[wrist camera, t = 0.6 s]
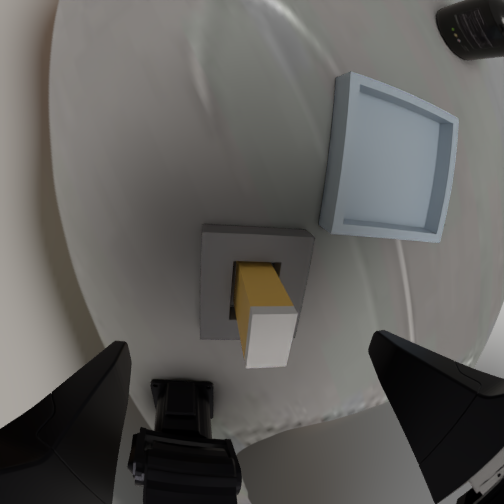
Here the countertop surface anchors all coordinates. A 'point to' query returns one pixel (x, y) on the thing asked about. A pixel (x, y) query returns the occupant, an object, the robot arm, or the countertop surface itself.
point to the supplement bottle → (473, 28)
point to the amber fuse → (263, 315)
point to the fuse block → (248, 249)
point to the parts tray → (387, 163)
